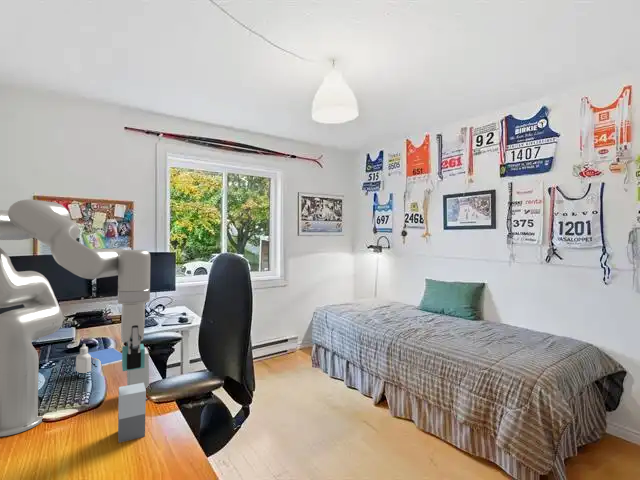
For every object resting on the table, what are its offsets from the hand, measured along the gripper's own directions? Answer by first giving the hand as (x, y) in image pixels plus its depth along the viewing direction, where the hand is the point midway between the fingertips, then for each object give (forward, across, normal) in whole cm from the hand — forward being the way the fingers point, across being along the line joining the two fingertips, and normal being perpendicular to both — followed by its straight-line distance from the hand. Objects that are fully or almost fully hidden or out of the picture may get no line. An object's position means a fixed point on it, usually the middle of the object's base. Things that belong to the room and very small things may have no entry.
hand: (133, 363), depth 92 cm
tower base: (+19, 0, 0) cm, 19 cm away
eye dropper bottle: (+19, -50, -13) cm, 55 cm away
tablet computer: (+19, -69, -6) cm, 72 cm away
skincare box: (+19, -23, +3) cm, 30 cm away
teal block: (+1, 0, 0) cm, 1 cm away
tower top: (+13, 0, 0) cm, 13 cm away
